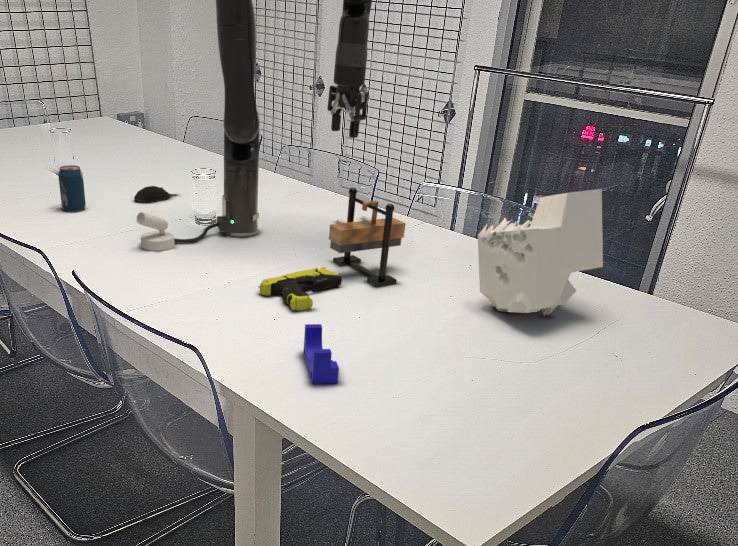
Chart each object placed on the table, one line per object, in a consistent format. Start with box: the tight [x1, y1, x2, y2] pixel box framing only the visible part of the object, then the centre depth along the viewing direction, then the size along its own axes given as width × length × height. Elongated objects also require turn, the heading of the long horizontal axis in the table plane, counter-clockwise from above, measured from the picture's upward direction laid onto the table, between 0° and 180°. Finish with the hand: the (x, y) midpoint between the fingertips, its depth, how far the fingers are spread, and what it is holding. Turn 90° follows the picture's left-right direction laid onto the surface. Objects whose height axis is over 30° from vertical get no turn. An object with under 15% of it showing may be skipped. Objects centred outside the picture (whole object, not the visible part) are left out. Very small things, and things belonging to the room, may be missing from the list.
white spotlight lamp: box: [135, 211, 175, 252], centre depth 191 cm, size 9×10×10 cm
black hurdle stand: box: [332, 187, 398, 288], centre depth 176 cm, size 6×19×18 cm, turn 27°
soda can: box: [57, 164, 87, 213], centre depth 217 cm, size 7×7×12 cm
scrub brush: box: [328, 200, 407, 254], centre depth 175 cm, size 18×5×11 cm, turn 117°
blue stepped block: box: [302, 323, 340, 385], centre depth 135 cm, size 12×4×6 cm, turn 5°
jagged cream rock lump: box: [477, 188, 604, 317], centre depth 157 cm, size 20×16×25 cm
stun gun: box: [257, 266, 343, 312], centre depth 167 cm, size 3×19×15 cm
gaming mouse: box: [133, 185, 177, 203], centre depth 232 cm, size 6×15×4 cm, turn 128°
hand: (344, 134), depth 187 cm, fingers open, 8 cm apart
